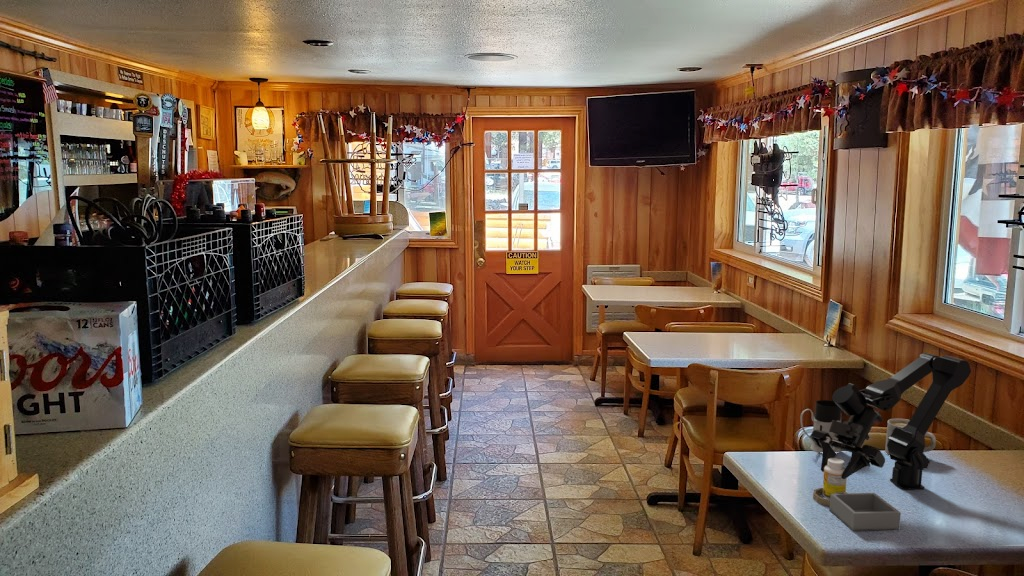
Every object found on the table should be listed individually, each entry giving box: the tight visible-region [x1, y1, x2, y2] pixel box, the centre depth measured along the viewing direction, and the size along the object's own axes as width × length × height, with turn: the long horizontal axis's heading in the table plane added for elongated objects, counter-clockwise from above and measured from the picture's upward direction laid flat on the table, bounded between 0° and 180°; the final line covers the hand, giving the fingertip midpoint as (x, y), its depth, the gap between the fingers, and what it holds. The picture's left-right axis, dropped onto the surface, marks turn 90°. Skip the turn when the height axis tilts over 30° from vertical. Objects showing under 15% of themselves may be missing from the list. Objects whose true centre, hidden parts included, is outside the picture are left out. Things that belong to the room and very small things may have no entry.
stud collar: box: [812, 487, 848, 508], centre depth 199 cm, size 9×9×2 cm
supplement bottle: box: [822, 457, 848, 500], centre depth 198 cm, size 6×6×10 cm
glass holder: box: [799, 399, 842, 453], centre depth 236 cm, size 9×14×15 cm, turn 107°
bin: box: [829, 492, 902, 532], centre depth 187 cm, size 12×12×4 cm
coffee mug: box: [884, 418, 937, 456], centre depth 232 cm, size 13×10×10 cm
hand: (832, 474), depth 197 cm, fingers closed on supplement bottle, 5 cm apart
